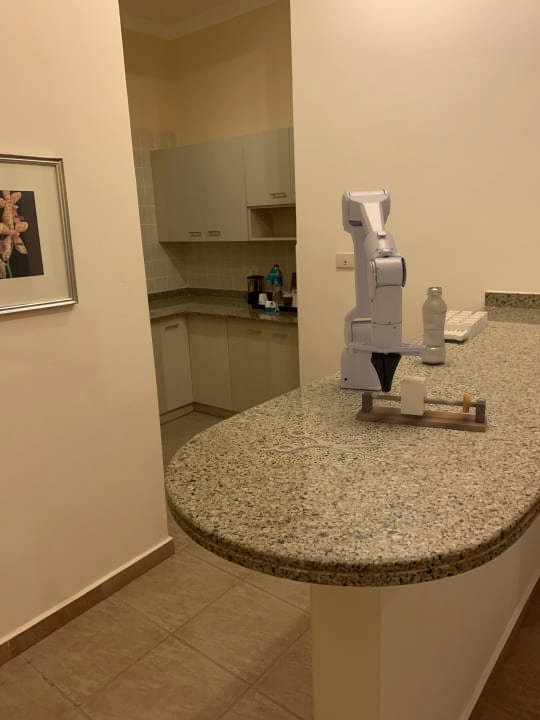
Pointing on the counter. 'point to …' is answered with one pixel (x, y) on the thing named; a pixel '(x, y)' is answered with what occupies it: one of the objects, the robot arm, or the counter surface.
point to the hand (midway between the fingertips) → (386, 390)
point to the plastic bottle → (434, 326)
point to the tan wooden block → (413, 395)
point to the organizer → (464, 324)
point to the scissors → (316, 445)
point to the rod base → (425, 413)
